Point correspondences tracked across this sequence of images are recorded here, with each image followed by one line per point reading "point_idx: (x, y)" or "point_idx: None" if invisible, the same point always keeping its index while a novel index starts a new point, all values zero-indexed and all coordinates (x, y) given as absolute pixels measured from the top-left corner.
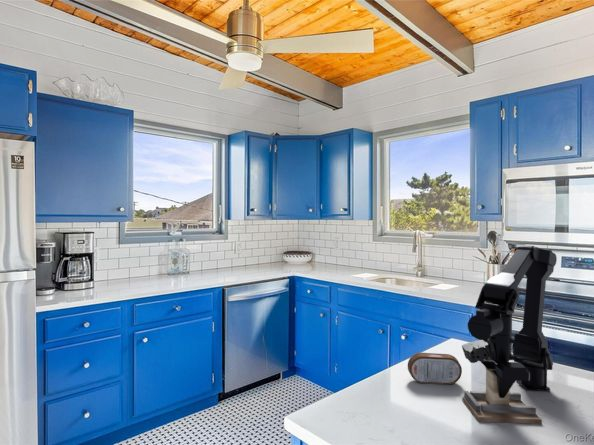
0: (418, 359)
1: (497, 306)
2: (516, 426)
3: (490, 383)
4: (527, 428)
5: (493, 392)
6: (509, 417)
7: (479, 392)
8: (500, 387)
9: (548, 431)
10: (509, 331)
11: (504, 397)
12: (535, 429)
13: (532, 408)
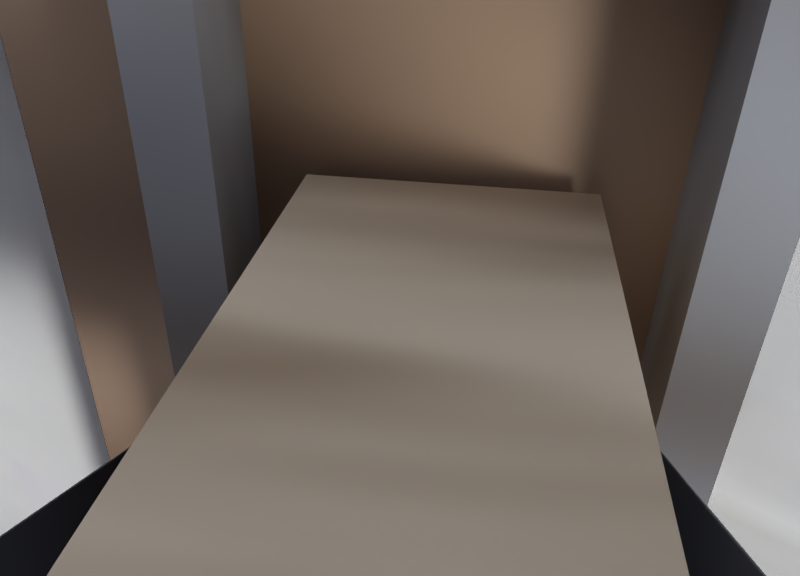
0: None
1: None
2: (19, 264)
3: (319, 458)
4: (14, 352)
5: (216, 333)
6: (80, 270)
7: (757, 163)
8: (20, 546)
9: (23, 492)
10: None
11: None
12: (21, 412)
13: None
